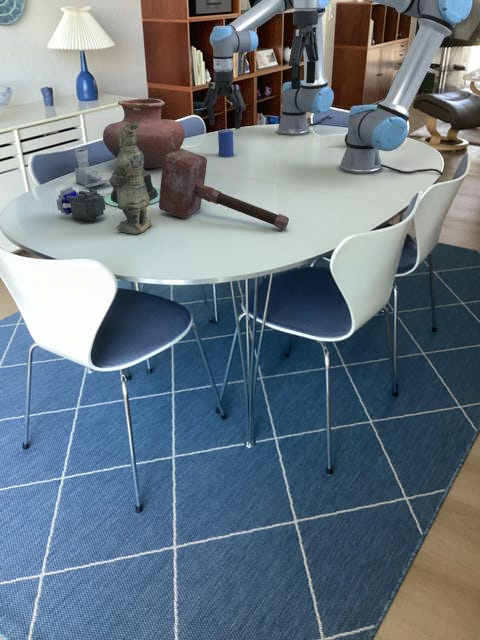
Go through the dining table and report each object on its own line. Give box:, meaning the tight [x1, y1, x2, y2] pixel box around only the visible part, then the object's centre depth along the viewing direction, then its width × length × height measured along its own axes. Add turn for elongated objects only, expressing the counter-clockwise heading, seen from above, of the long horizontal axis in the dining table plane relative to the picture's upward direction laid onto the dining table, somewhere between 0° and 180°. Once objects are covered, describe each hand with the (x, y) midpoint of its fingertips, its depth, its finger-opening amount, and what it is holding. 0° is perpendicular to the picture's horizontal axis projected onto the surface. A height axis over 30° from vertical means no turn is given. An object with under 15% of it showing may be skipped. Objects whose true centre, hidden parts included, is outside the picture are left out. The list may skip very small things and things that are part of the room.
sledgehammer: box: [158, 148, 290, 231], centre depth 163 cm, size 17×10×40 cm
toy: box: [56, 186, 107, 222], centre depth 168 cm, size 9×9×15 cm
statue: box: [108, 121, 153, 235], centre depth 154 cm, size 11×9×30 cm
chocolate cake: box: [103, 168, 160, 207], centre depth 186 cm, size 15×19×20 cm
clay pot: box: [102, 98, 186, 169], centre depth 213 cm, size 30×30×25 cm
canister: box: [217, 129, 235, 158], centre depth 231 cm, size 6×6×10 cm
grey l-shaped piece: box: [74, 148, 110, 188], centre depth 197 cm, size 9×12×15 cm
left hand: (224, 126), depth 228 cm, fingers open, 13 cm apart
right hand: (303, 86), depth 177 cm, fingers open, 13 cm apart
